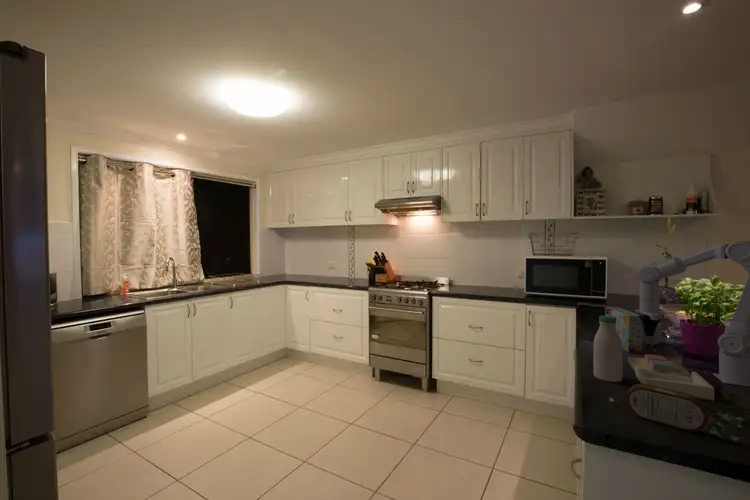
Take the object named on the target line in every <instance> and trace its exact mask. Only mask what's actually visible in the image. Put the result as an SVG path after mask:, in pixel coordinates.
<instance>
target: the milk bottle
mask: <svg viewBox="0 0 750 500" xmlns="http://www.w3.org/2000/svg"><path fill="white" fill-rule="evenodd" d="M598 320H599V321H598V323H599V328H598V330H597V332H596V333H595V336H594V339H593V376H594V377H595V378H596V379H598V380H601V381H605V382H609V383H611V382H612V383H620V382H622V381H623V349H622V342H621V339H620V337H619V335H618V333H617V330H616V326H615V325H616V317H613V316H606V315H599V317H598Z"/></svg>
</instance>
